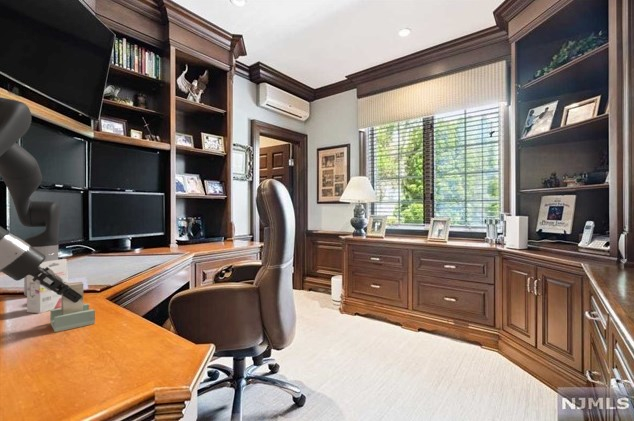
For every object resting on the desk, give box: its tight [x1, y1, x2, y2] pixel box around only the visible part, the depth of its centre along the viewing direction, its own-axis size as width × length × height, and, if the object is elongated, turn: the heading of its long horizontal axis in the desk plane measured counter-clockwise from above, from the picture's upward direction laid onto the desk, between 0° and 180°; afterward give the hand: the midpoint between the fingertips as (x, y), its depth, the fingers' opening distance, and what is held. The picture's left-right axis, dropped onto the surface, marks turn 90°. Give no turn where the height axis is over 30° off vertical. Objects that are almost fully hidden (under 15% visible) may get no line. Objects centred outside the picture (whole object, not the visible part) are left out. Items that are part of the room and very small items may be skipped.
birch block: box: [60, 281, 84, 315], centre depth 81 cm, size 4×4×8 cm
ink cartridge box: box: [26, 258, 69, 314], centre depth 94 cm, size 9×5×15 cm, turn 168°
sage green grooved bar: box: [49, 302, 96, 333], centre depth 81 cm, size 9×8×4 cm
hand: (77, 297), depth 82 cm, fingers closed on birch block, 4 cm apart
